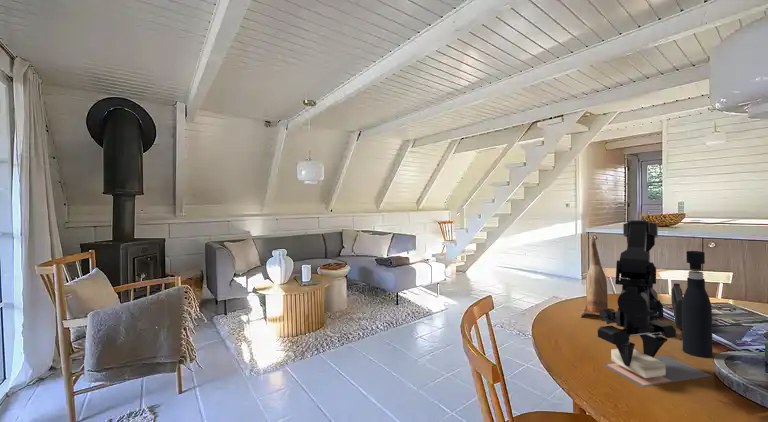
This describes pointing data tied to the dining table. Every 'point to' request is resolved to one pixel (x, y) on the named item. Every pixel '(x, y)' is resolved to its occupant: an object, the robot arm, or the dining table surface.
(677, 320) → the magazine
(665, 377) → the mat
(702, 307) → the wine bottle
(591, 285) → the brown tall tapered piece
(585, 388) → the dining table surface
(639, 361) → the block
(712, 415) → the dining table surface
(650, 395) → the dining table surface
